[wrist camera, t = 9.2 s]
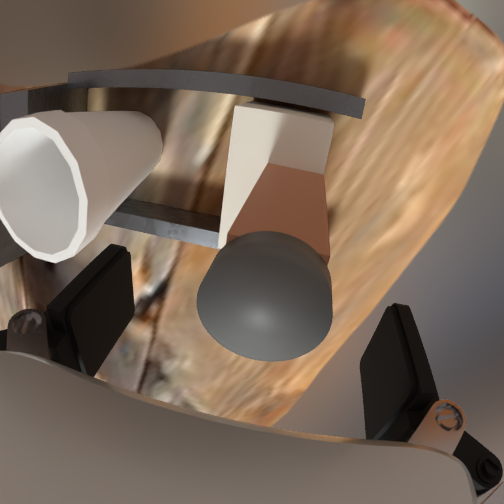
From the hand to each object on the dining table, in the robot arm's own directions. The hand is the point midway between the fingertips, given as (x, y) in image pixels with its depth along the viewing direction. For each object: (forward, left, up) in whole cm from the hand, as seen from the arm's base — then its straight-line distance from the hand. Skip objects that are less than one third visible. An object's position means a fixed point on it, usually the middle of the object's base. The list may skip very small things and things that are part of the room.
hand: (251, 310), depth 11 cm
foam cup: (+1, +14, -17) cm, 22 cm away
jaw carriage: (0, +1, -17) cm, 17 cm away
